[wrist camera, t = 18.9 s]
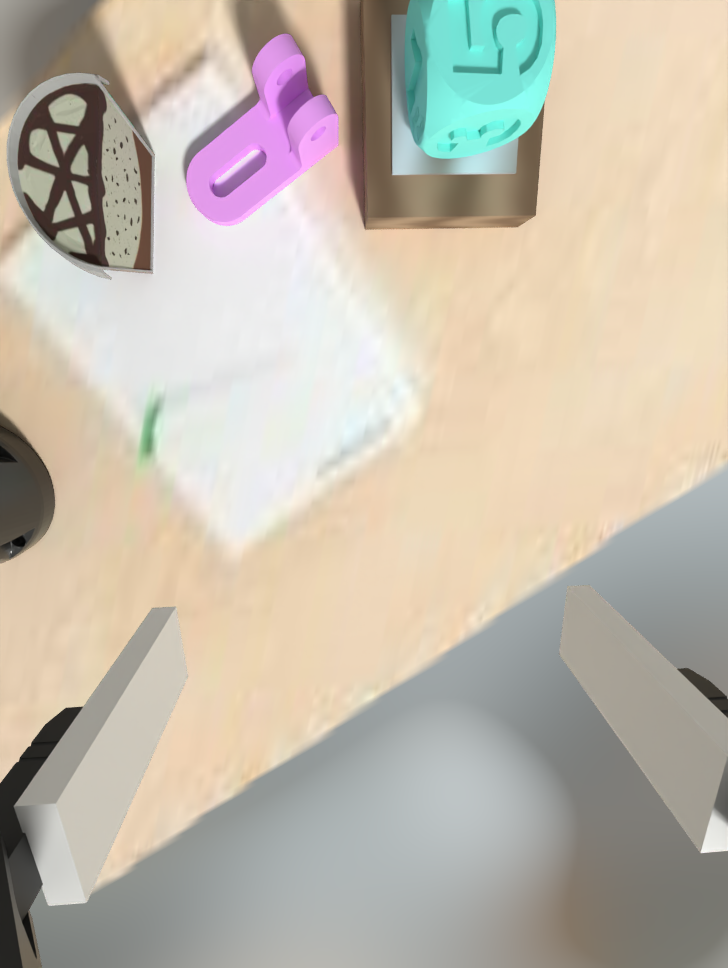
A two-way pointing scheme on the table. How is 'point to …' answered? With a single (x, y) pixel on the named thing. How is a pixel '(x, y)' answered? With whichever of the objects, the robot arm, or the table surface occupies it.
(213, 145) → the bracket
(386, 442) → the table surface
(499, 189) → the plinth
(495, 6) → the decorative dice
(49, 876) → the robot arm
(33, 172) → the food container
